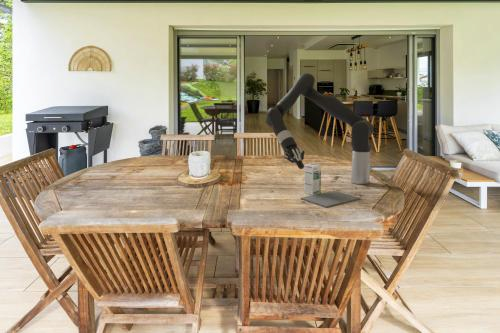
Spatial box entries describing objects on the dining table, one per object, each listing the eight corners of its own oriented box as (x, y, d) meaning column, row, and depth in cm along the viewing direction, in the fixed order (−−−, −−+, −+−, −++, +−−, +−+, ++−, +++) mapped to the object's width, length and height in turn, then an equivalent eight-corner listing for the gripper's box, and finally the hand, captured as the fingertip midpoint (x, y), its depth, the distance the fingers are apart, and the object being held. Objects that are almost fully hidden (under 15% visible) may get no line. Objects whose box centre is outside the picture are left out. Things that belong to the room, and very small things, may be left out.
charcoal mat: (334, 191, 189) (334, 190, 188) (360, 199, 176) (360, 197, 176) (300, 199, 176) (300, 197, 176) (326, 207, 163) (326, 206, 163)
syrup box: (312, 195, 182) (313, 165, 179) (303, 193, 186) (304, 164, 183) (320, 193, 185) (321, 164, 182) (312, 191, 190) (312, 162, 187)
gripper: (292, 144, 203) (308, 170, 196) (273, 146, 196) (288, 174, 188) (299, 135, 198) (315, 162, 190) (279, 137, 190) (295, 165, 183)
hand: (302, 168), depth 189 cm, fingers closed
